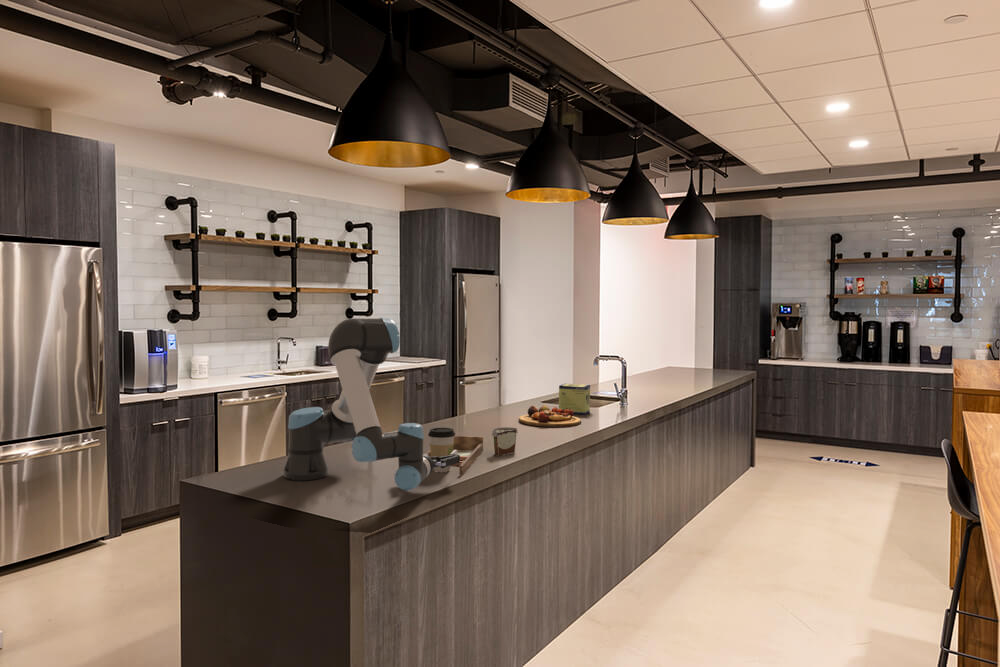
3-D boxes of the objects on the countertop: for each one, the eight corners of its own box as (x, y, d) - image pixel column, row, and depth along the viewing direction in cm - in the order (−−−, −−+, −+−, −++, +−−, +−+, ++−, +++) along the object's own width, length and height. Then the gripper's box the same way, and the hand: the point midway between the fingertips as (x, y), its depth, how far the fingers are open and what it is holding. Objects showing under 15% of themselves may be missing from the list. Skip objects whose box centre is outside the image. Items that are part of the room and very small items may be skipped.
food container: (506, 449, 284) (507, 425, 283) (517, 452, 279) (517, 428, 279) (485, 454, 275) (485, 429, 275) (495, 456, 271) (496, 431, 270)
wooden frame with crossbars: (413, 473, 244) (413, 456, 244) (440, 449, 283) (440, 434, 283) (462, 475, 241) (462, 459, 241) (483, 451, 280) (483, 436, 280)
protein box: (585, 415, 370) (586, 386, 370) (558, 413, 376) (558, 385, 375) (590, 412, 380) (590, 384, 379) (563, 410, 386) (563, 383, 385)
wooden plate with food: (562, 430, 327) (562, 413, 327) (506, 423, 345) (507, 406, 345) (591, 422, 354) (592, 406, 354) (538, 415, 371) (539, 400, 371)
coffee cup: (460, 470, 249) (460, 429, 248) (440, 475, 241) (440, 433, 241) (442, 465, 255) (442, 426, 255) (422, 470, 248) (422, 429, 247)
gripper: (382, 476, 221) (402, 461, 242) (457, 480, 217) (471, 464, 238) (382, 453, 221) (402, 440, 241) (457, 457, 216) (471, 443, 237)
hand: (436, 452), depth 240 cm, fingers open, 13 cm apart
